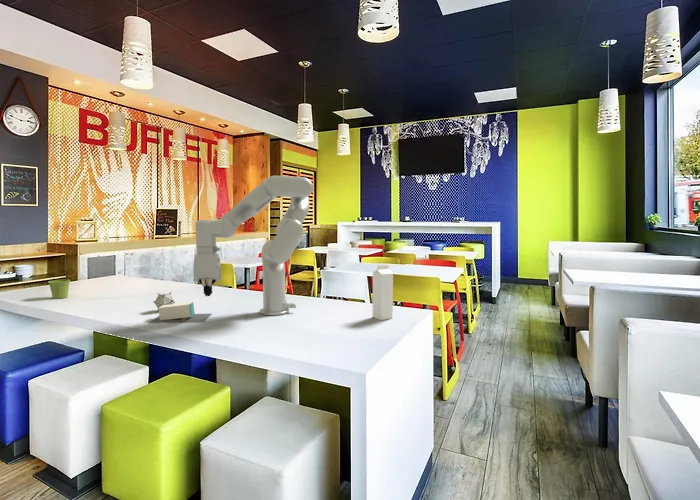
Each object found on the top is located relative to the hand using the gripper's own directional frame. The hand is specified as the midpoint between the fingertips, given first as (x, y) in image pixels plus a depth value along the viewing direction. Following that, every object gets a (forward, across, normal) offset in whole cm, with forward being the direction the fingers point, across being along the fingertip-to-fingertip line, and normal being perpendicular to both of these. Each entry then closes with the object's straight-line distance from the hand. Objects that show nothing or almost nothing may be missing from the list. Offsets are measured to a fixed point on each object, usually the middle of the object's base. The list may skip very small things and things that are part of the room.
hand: (208, 295), depth 161 cm
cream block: (+6, +6, 0) cm, 8 cm away
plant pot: (+9, +84, -50) cm, 98 cm away
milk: (+10, -71, +6) cm, 72 cm away
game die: (+10, +22, -15) cm, 28 cm away
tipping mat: (+9, +11, 0) cm, 14 cm away
